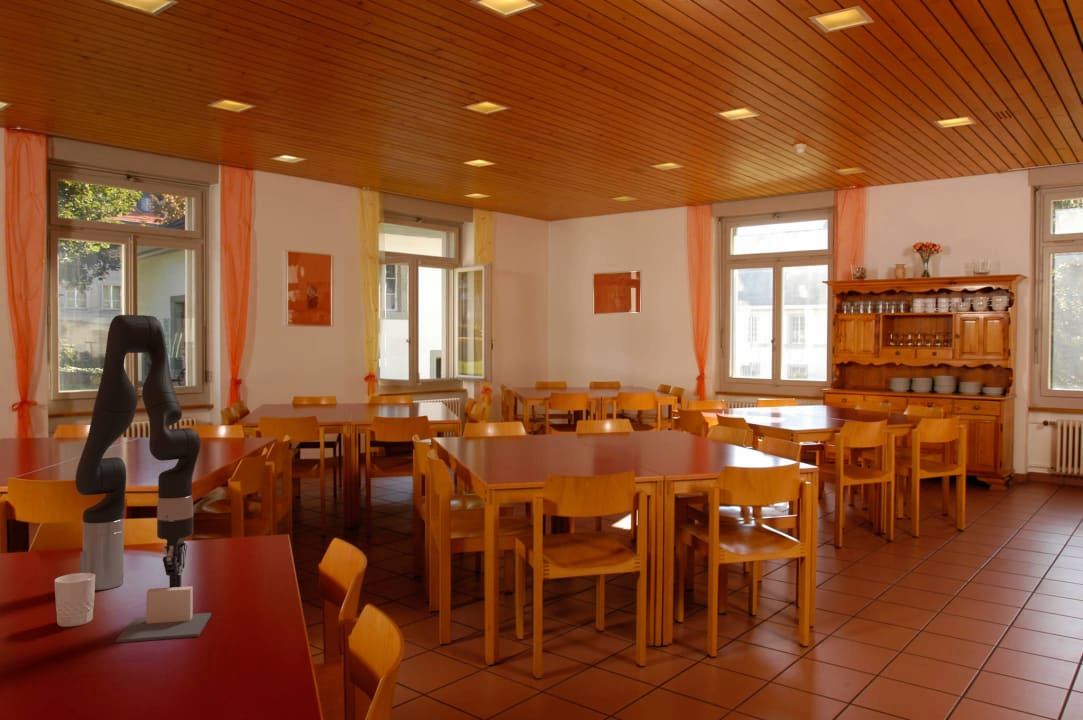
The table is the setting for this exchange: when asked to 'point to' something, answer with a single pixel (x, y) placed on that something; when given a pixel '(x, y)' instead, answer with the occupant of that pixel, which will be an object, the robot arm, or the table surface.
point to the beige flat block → (169, 604)
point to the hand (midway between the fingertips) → (175, 591)
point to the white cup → (74, 599)
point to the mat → (163, 629)
